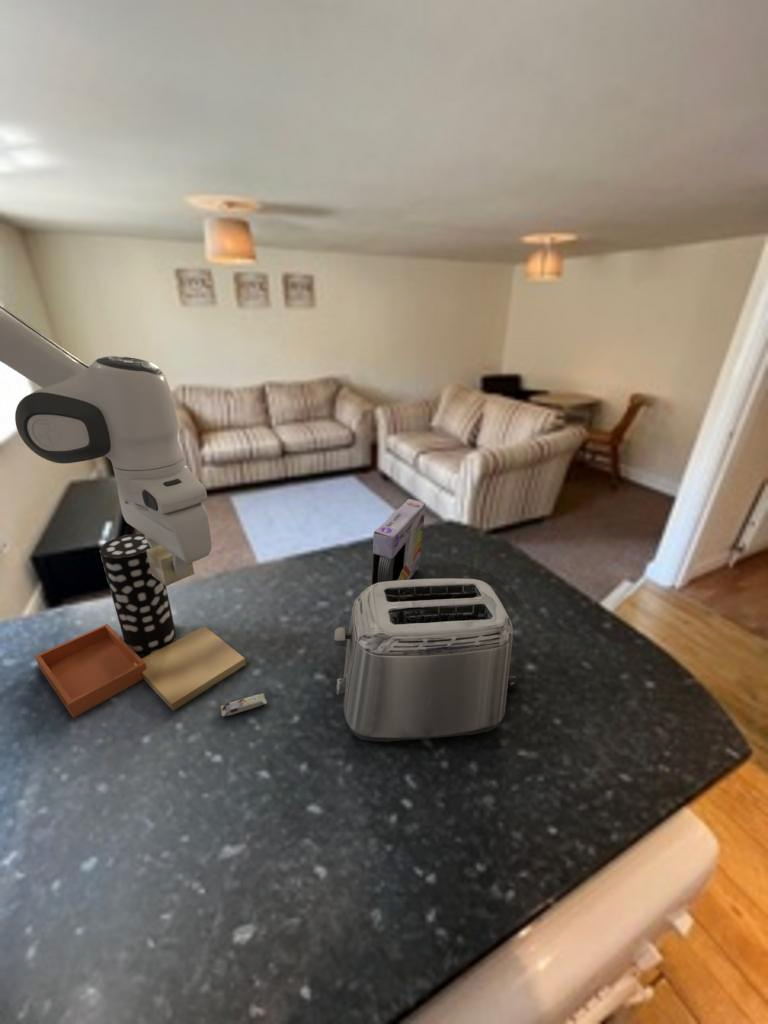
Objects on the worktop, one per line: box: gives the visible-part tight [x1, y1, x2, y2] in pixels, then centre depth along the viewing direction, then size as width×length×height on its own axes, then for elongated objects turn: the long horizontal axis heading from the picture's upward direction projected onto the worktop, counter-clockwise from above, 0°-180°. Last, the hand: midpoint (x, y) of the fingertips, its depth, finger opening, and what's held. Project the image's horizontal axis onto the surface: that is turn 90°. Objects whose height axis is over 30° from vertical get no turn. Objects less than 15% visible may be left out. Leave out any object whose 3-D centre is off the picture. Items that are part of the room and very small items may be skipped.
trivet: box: [133, 625, 247, 712], centre depth 76 cm, size 13×13×2 cm
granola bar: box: [219, 692, 268, 717], centre depth 69 cm, size 7×2×1 cm, turn 113°
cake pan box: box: [371, 498, 427, 586], centre depth 97 cm, size 19×5×18 cm, turn 155°
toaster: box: [333, 578, 517, 743], centre depth 68 cm, size 17×30×19 cm, turn 95°
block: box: [146, 545, 195, 587], centre depth 68 cm, size 4×4×4 cm
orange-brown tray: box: [34, 623, 147, 719], centre depth 74 cm, size 15×11×3 cm
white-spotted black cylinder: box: [99, 533, 177, 657], centre depth 78 cm, size 8×8×20 cm
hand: (171, 565), depth 68 cm, fingers closed on block, 4 cm apart
